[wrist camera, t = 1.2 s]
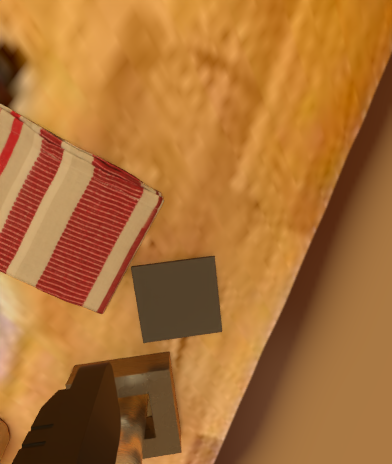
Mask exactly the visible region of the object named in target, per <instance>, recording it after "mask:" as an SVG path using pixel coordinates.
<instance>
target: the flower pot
mask: <svg viewBox="0 0 392 464" xmlns="http://www.w3.org/2000/svg"><path fill="white" fill-rule="evenodd" d="M9 439H10V436H9V433H8V427H7V425H6V424H5V423H4V422H3V421H2V420H0V461H1V458H2V456H3V453H4V451H5V449H6V447H7V445H8V442H9Z"/></svg>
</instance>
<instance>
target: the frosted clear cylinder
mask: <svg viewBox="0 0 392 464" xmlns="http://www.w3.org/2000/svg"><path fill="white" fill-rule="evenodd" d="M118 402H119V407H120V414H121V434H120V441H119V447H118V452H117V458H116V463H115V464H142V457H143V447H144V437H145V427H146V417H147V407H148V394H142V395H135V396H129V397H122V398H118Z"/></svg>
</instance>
